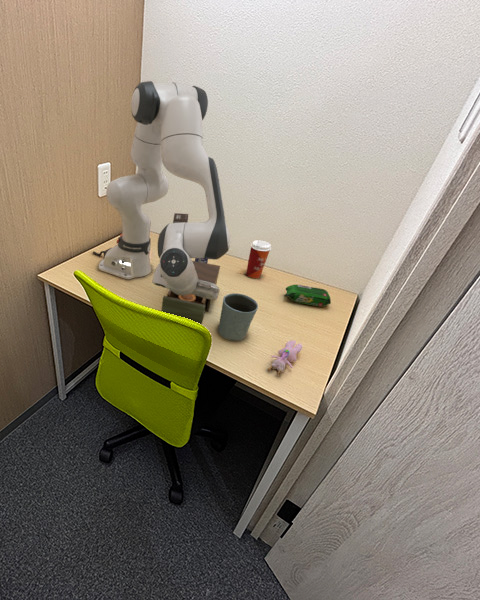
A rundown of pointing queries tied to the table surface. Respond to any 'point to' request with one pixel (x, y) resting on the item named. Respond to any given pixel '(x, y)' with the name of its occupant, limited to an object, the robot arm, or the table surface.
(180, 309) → the drawer
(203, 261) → the pill bottle
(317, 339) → the table surface
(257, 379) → the table surface
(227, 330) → the grey green plant pot
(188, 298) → the terracotta hollow cylinder
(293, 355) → the rabbit figure
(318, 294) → the snack package
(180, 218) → the coffee box
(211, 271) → the cabinet
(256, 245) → the paper cup
